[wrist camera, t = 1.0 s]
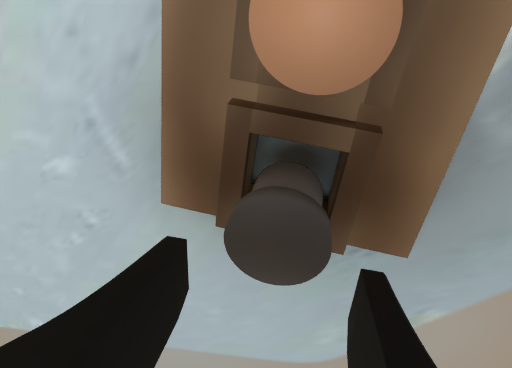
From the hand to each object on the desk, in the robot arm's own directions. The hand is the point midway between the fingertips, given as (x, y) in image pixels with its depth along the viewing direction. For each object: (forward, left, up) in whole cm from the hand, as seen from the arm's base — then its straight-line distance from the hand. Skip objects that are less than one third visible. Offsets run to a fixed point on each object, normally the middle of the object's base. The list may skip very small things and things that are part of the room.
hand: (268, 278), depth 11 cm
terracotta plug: (0, -7, -5) cm, 9 cm away
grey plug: (0, 0, -5) cm, 5 cm away
